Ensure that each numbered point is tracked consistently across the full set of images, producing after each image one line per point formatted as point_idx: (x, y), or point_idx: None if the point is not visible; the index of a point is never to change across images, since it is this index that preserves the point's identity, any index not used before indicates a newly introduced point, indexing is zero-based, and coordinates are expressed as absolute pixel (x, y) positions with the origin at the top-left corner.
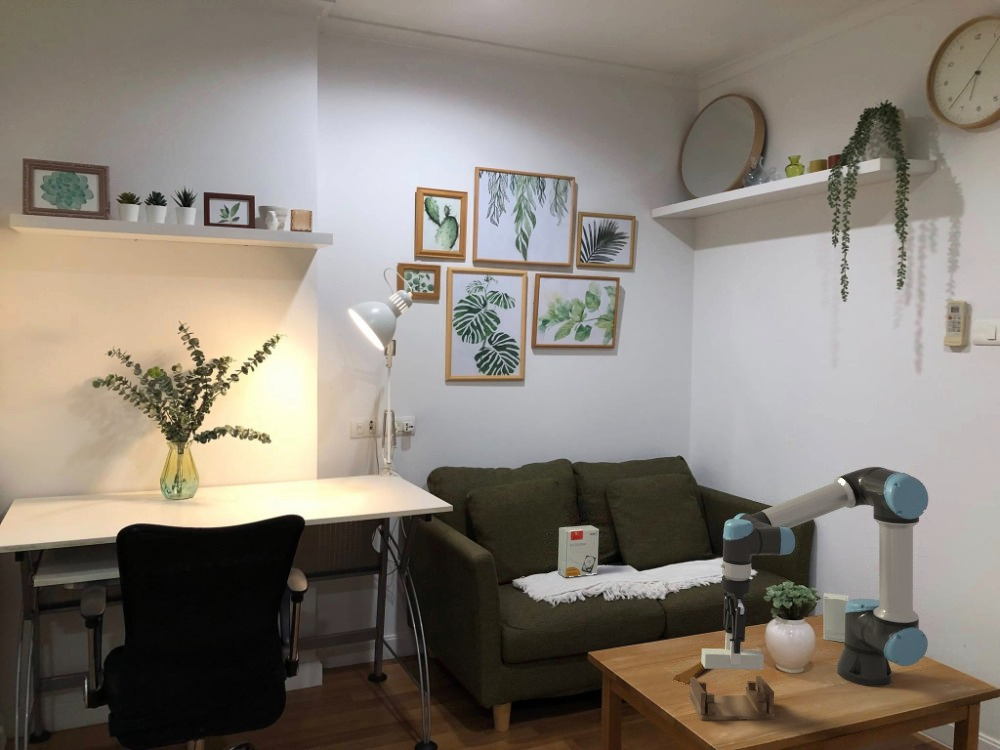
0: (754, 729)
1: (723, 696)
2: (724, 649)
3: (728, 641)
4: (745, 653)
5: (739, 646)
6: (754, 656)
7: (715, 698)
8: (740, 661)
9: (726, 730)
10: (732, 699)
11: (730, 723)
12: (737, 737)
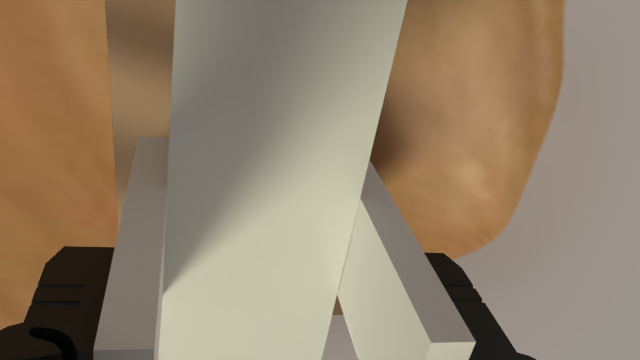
0: (480, 19)
1: (121, 55)
2: (181, 313)
3: (158, 347)
4: (330, 116)
5: (492, 330)
6: (401, 7)
7: (151, 113)
8: (373, 168)
9: (448, 154)
10: (167, 13)
11: (395, 114)
12: (515, 131)
